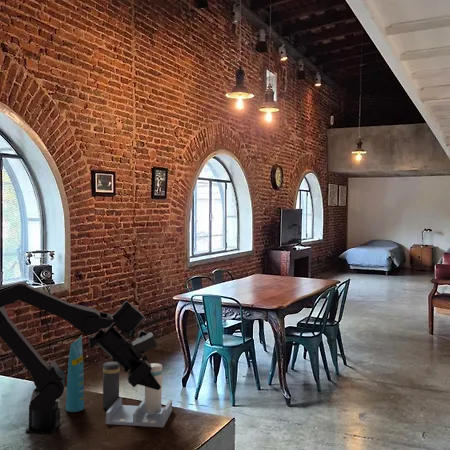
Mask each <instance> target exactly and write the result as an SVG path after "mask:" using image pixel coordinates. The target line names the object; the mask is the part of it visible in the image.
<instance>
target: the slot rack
mask: <svg viewBox="0 0 450 450" xmlns="http://www.w3.org/2000/svg"><path fill="white" fill-rule="evenodd" d="M172 412H173V399H169V400H168V401H167V403H166V404H165V406H164V407H162V406H161V412H160V413H157V414H148V413H145V397H144V398H143V399H142V401H141V402H140V403H139V405H126V404H123V397H122V396H119V398H118V399H117V400H116V401H115V403H114V404H113V405H112V406H111V407H110V408H109V409H108V410H107V411H106V412H105V425H116V426H117V425H118V426H136V427H149V428H150V427H151V428H153V427H154V428H164V427H165V425H166V423H167V422H168V419H169V417H170V416H171V413H172Z"/></svg>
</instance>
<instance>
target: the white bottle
mask: <svg viewBox="0 0 450 450" xmlns="http://www.w3.org/2000/svg"><path fill="white" fill-rule="evenodd" d="M150 364H151V368H152V369H151V373H152V375H153V376H154V378H155V379H156V380H157V382H158V383H159V385H160V386H161V388H160V389H159V390H156V389H152V388H149V387H146V386H144V398H145V413H148V414H157V413H160V412H161V407H162V395H163V393H162V391H163V389H162V387H163V385H162V383H163V381H162V380H163V364H161V363H157V362H156V363H155V362H154V363H150Z"/></svg>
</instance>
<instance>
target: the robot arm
mask: <svg viewBox="0 0 450 450" xmlns="http://www.w3.org/2000/svg"><path fill="white" fill-rule="evenodd" d="M18 301H21V302H23V303H26V304H28V305H31V306H32V307H36V308H38V309H40V310H42V311H44V312H47V313H50V314H52V315H54V316H56V317H58V318H61V319H63V320H65V321H66V322H68V323H69V324H70V325H71V326H73V327H74V328H75V329H77V330H78V331H80V332H81V333H83V334H85V335H88V341H89V344H88V348H89V349H91V350H92V349H93V348H94V347H95V346H96V345H98V346H99V347H100V348H101V349H102V350H103V351H104V352H105V353H106V354H108V355H109V356H110V357H111V361H112V362H117V363H118V364H119V367H121V368H122V370H123V372H125V374H126V373H127V376H126V379H127V382H128V384H129V385H131V386H132V388H135V387H136V386H139V385H140V386H143V387H145V386H146V387H149V388H152V389H156V390H159V389H160V388H161V386H160V385H159V383H158V382H157V380H156V379H155V378H154V376H153V375H152V373H151V369H152V368H151V363H149V362H148V361H149V360H148V355H147V354H145V353H147V352H149V351H150V350H153V349H157V348H158V347H159V344H158V342H157V340H156V338H155V336H154V334H153V332H150V331H148V332H147V331H145V330H141V331H138V338H137V337H136V338H135V339H134V340H133V341H132V340H131V339H130V338H125V337H124V336H123V335H124V334H131V333H132V332H133V331H134V330H135V329H136V328H137V327H138V326H139V325H140V324H141V323H142V322H143V321H144V320H145V319H146V316H144V314H143V313H141V311H140V310H138V308H137V307H135V306H134V305H132V303H130V302H129V301H128V300H125V301H123V303H122V304H121V306H120V307H119V308H118V309H117V310H116V311H115V312H114V313H109V312H100V311H99V310H98V309H96V308H94V307H91V306H86V305H81V304H74V303H70V302H67V301H66V300H65V299H64V300H63V299H62V298H59V297H56V296H54V295H52V294H50V293H48V292H45V291H43V290H40V289H38V288H36V287H33V286H31V285H30V284H29V283H27V282H25V281H24V282H23V281H19V282H17V283H15V284H12V285H8V286H5V287H2V288H0V339H1V340H2V341H3V342H4V344H5V345H6V346H7V347H8V348H9V350H10V351H11V352H12V353H13V355H14V356H15V357H16V358H17V359H18V361H20V363H21V364H22V366H24V368H25V369H26V370H27V371H28V373H29V374H30V376H31V379H32V381H33V384H34V386H35V388H34V389H33V391H32V394H31V397H30V401H29V404H28V427H26V429H25V433H36V434H37V433H38V434H51V433H52V432H53V431H55V430H56V429H57V428H58V427H59V426H60V425H61V423H62V421H61V408H60V407H59V401H57V400H58V399H60V398H61V397H62V396H63V393H64V392H65V391H64V390H65V382H66V381H65V380H66V379H65V376H64V375H65V374H64V373H65V371H64V370H62V369H61V368H60V367H59V365H58V364H57V362H56V360H53V361H52V362H51V363H49V362H47V361H45V360H44V359H43V358H42V357H41V355H40V354H39V353H38V352H37V350H36V349H35V348H34V347H33V345H32V344H31V343H30V342H29V340H28V339H27V338H26V337H25V336H24V334H23V333H22V332H21V330H19V328H18V327H17V326H16V325H15V323H14V322H13V321H12V319H11V318H10V317H9V315H8V312H7V309H6V307H5V306H7V305H10V304H12V303H15V302H18ZM115 327H116V328H117V329H118V330H119V331H120V332H121V333H122V334H123V335H122V334H121V333H120V332H119V331H118V330H117V329H116V328H115ZM93 334H94V335H93ZM144 354H145V355H144Z"/></svg>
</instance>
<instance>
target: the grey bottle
mask: <svg viewBox="0 0 450 450" xmlns="http://www.w3.org/2000/svg"><path fill="white" fill-rule="evenodd" d="M102 365H103V367H102V409H103V410H107V411H108V409H109V408H110V407H111V406H112V405H113V404H114V403H115V401H116V400H117V399H118V398H119V397H120V371H121V370H120V367H121V366H120V365H119V364H118V363H117V362H114V361H107V362H104V363H103V364H102Z"/></svg>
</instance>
